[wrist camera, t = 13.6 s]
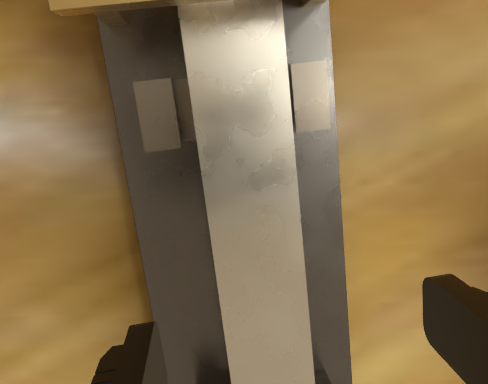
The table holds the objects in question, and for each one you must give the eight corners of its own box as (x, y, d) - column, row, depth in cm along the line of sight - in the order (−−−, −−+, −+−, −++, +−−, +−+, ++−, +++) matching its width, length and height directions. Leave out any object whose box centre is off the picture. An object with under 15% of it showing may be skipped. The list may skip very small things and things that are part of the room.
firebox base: (313, -100, 22) (425, -283, 11) (346, 405, 30) (432, 578, 19) (83, -82, 21) (-29, -265, 10) (179, 437, 29) (170, 639, 18)
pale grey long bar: (254, -103, 19) (270, -157, 15) (306, 444, 26) (327, 507, 22) (162, -96, 18) (153, -150, 14) (241, 457, 25) (250, 524, 21)
